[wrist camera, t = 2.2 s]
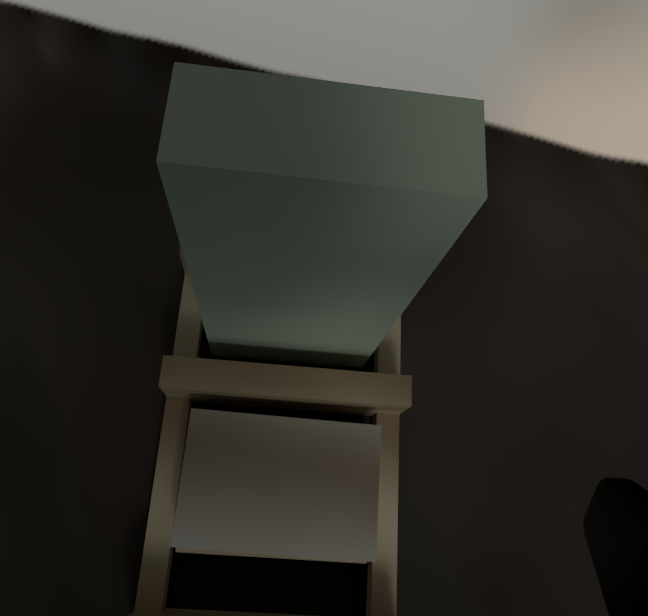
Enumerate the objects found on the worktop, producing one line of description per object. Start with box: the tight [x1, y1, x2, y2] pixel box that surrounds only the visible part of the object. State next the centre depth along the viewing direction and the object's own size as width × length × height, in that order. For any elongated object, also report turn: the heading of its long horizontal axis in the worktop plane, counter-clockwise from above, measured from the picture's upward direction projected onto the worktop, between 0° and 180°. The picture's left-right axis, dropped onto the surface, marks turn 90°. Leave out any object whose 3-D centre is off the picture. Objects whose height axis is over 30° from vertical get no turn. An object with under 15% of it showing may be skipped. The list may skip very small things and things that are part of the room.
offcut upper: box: [170, 408, 381, 562], centre depth 18 cm, size 4×6×2 cm, turn 86°
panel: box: [156, 62, 487, 368], centre depth 16 cm, size 2×6×12 cm, turn 86°
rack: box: [129, 246, 412, 616], centre depth 19 cm, size 13×8×2 cm, turn 177°
